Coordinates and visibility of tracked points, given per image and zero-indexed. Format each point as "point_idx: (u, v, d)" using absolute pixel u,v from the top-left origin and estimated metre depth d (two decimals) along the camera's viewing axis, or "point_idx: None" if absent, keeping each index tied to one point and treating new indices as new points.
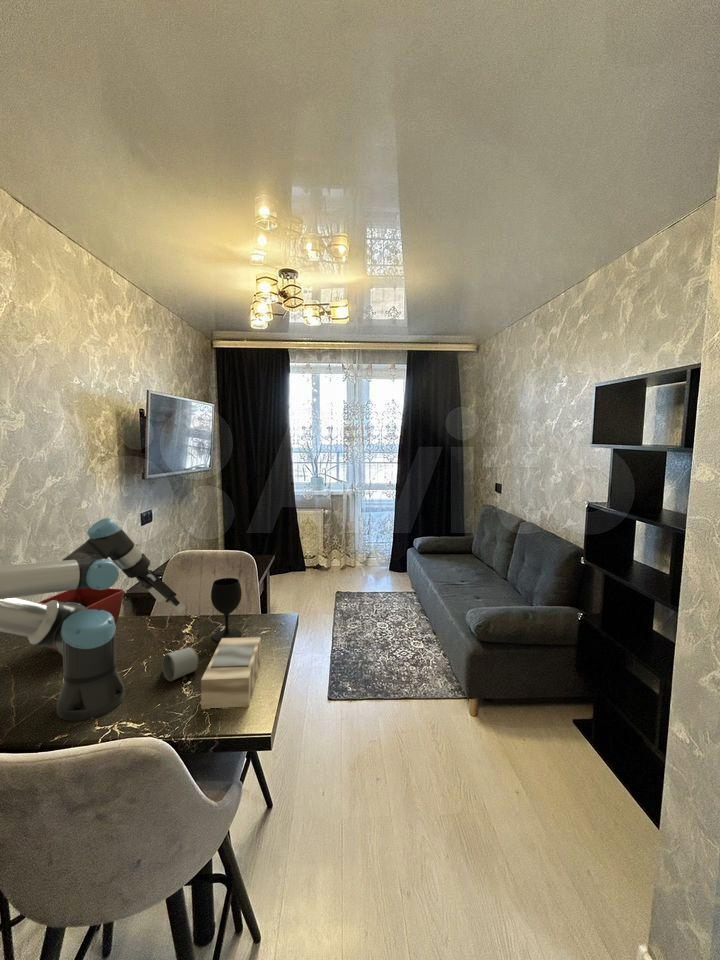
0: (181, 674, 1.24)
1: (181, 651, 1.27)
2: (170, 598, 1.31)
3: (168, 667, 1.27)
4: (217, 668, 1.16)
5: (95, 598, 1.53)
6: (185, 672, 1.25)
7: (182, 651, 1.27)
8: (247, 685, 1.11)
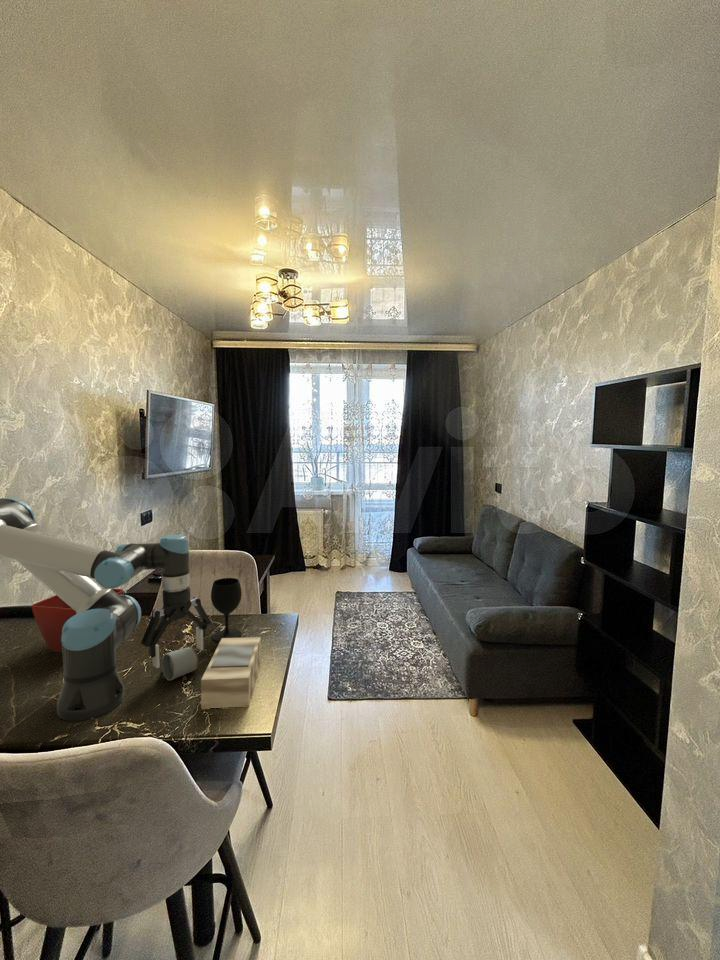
0: (180, 674, 1.24)
1: (180, 651, 1.27)
2: (142, 642, 1.20)
3: (168, 667, 1.28)
4: (217, 668, 1.16)
5: None
6: (184, 672, 1.25)
7: (181, 651, 1.27)
8: (247, 685, 1.11)
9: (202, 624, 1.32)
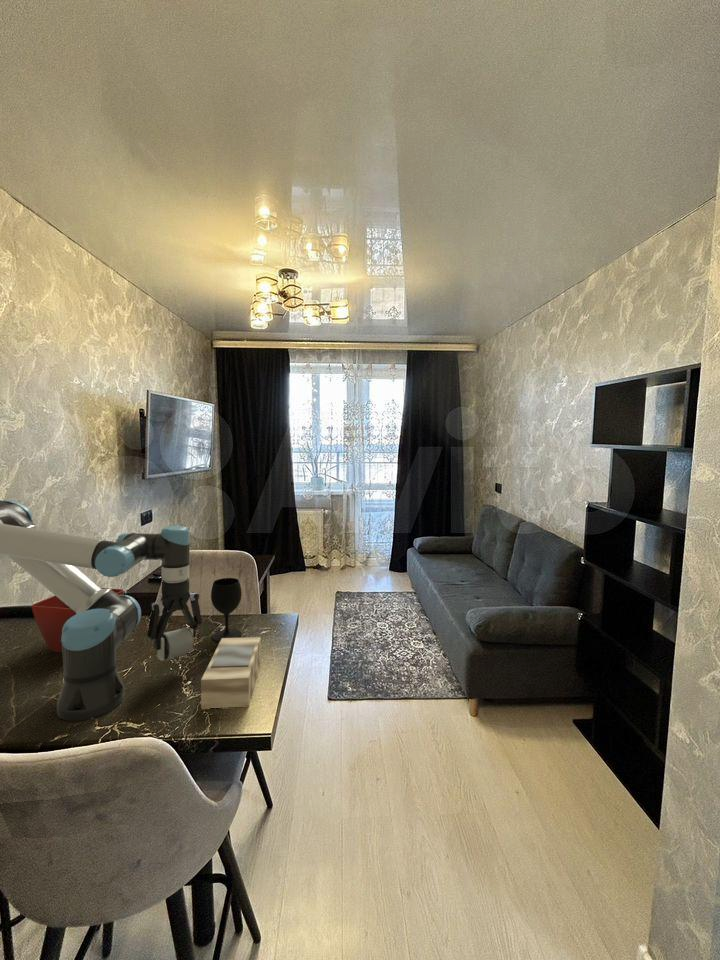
0: (176, 654, 1.24)
1: (177, 631, 1.26)
2: (148, 634, 1.21)
3: None
4: (217, 668, 1.16)
5: None
6: (180, 652, 1.24)
7: (178, 631, 1.26)
8: (247, 685, 1.11)
9: (193, 623, 1.30)
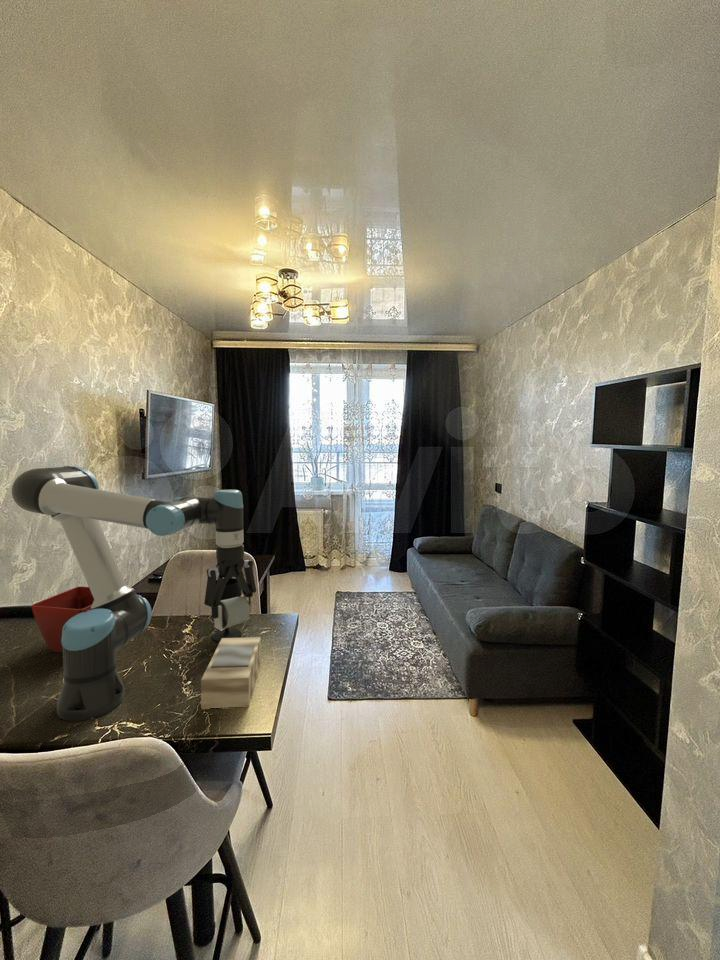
0: (234, 622, 1.18)
1: (233, 599, 1.21)
2: (205, 602, 1.16)
3: None
4: (217, 668, 1.16)
5: None
6: (238, 620, 1.19)
7: (234, 599, 1.21)
8: (247, 685, 1.11)
9: (248, 591, 1.25)
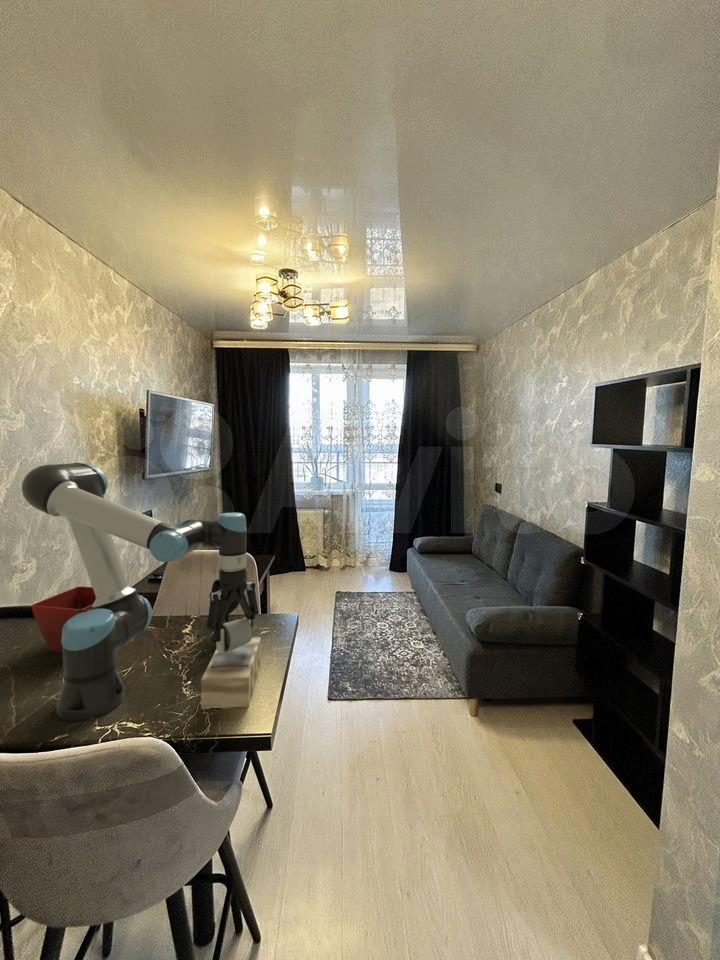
0: (236, 645, 1.19)
1: (235, 622, 1.21)
2: (207, 626, 1.16)
3: None
4: (217, 668, 1.16)
5: (94, 598, 1.53)
6: (240, 643, 1.20)
7: (236, 622, 1.21)
8: (247, 685, 1.11)
9: (251, 613, 1.25)
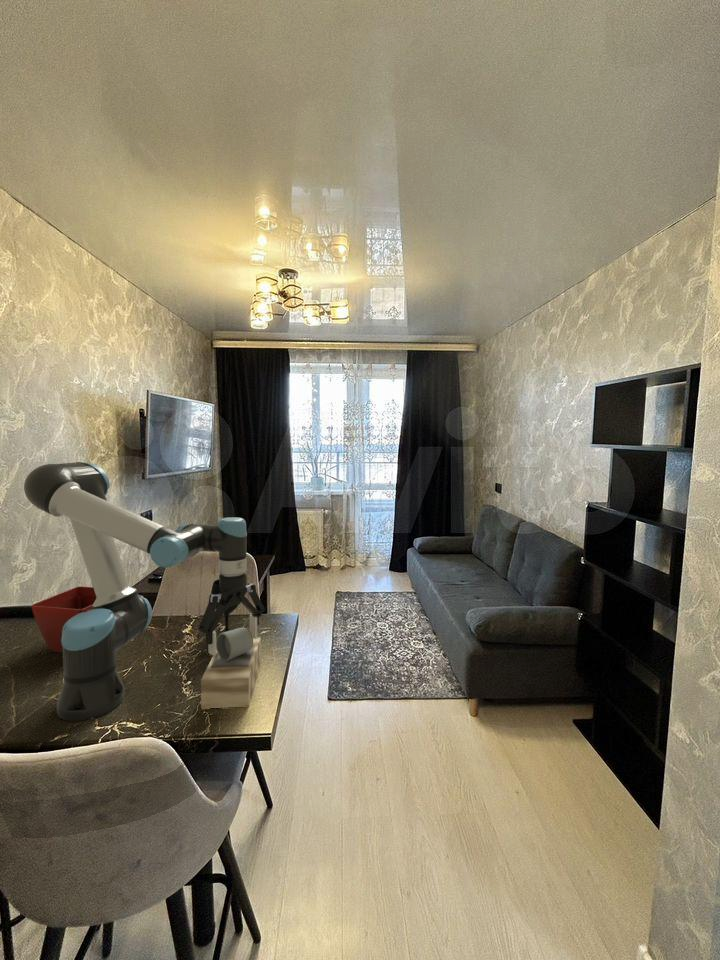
0: (237, 654, 1.19)
1: (236, 630, 1.22)
2: (199, 628, 1.14)
3: (222, 647, 1.23)
4: (217, 668, 1.16)
5: (95, 598, 1.53)
6: (241, 652, 1.20)
7: (237, 630, 1.22)
8: (247, 685, 1.11)
9: (256, 611, 1.27)
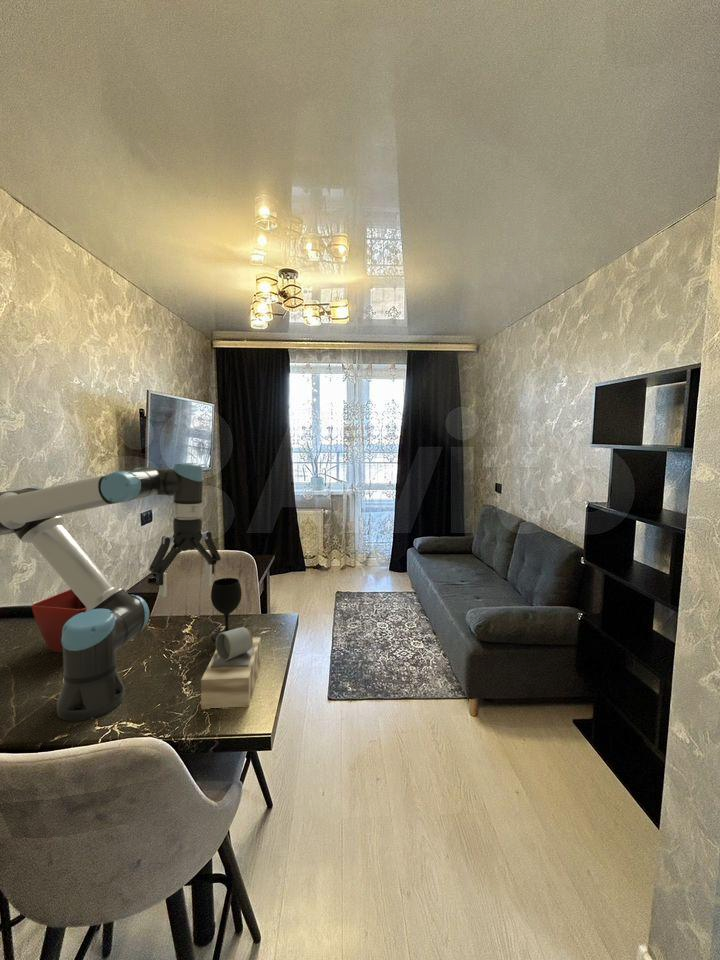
0: (236, 654, 1.19)
1: (235, 630, 1.22)
2: (150, 568, 1.15)
3: (222, 647, 1.23)
4: (217, 668, 1.16)
5: None
6: (240, 652, 1.20)
7: (236, 630, 1.22)
8: (247, 685, 1.11)
9: (211, 559, 1.27)
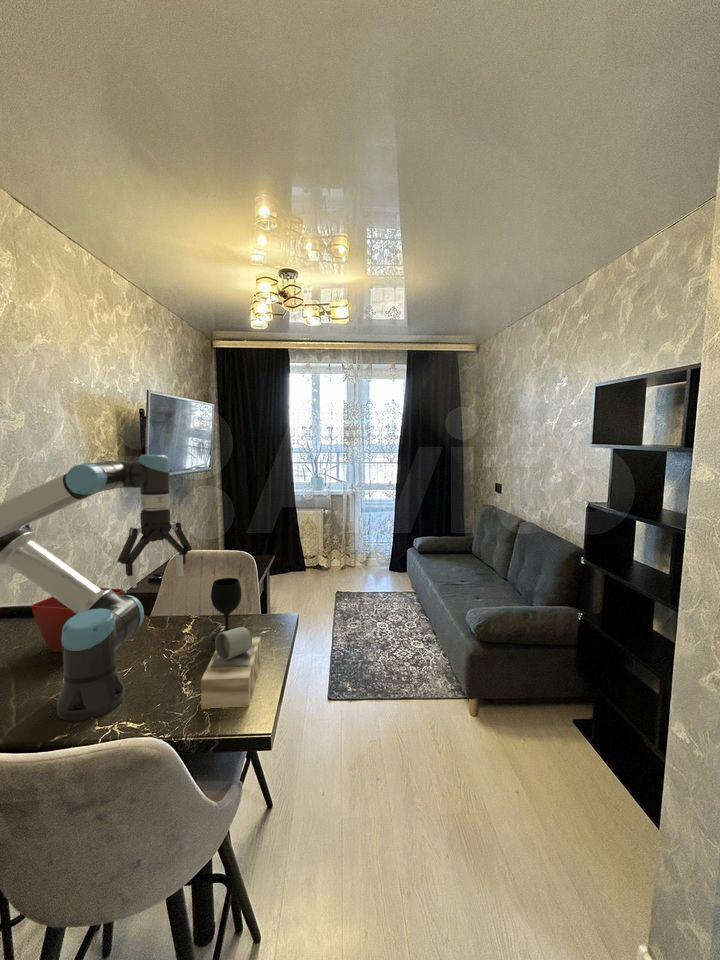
0: (236, 653, 1.19)
1: (235, 630, 1.22)
2: (118, 559, 1.16)
3: (221, 647, 1.23)
4: (217, 668, 1.16)
5: None
6: (240, 651, 1.20)
7: (236, 630, 1.22)
8: (247, 685, 1.11)
9: (182, 549, 1.29)
